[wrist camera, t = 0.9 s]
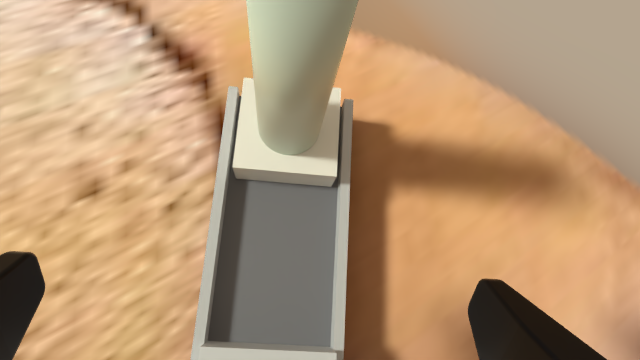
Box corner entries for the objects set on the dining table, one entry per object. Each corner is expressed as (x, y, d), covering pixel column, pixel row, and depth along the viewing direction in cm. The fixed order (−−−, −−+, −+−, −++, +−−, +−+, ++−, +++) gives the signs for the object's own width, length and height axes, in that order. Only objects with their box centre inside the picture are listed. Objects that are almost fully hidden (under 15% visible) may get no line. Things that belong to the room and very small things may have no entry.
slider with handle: (331, 187, 21) (426, 14, 8) (235, 178, 21) (171, -20, 8) (335, 105, 23) (423, -157, 10) (246, 95, 22) (206, -195, 9)
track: (329, 493, 19) (341, 537, 15) (181, 492, 18) (160, 537, 15) (345, 118, 24) (356, 91, 21) (233, 106, 24) (226, 76, 20)
